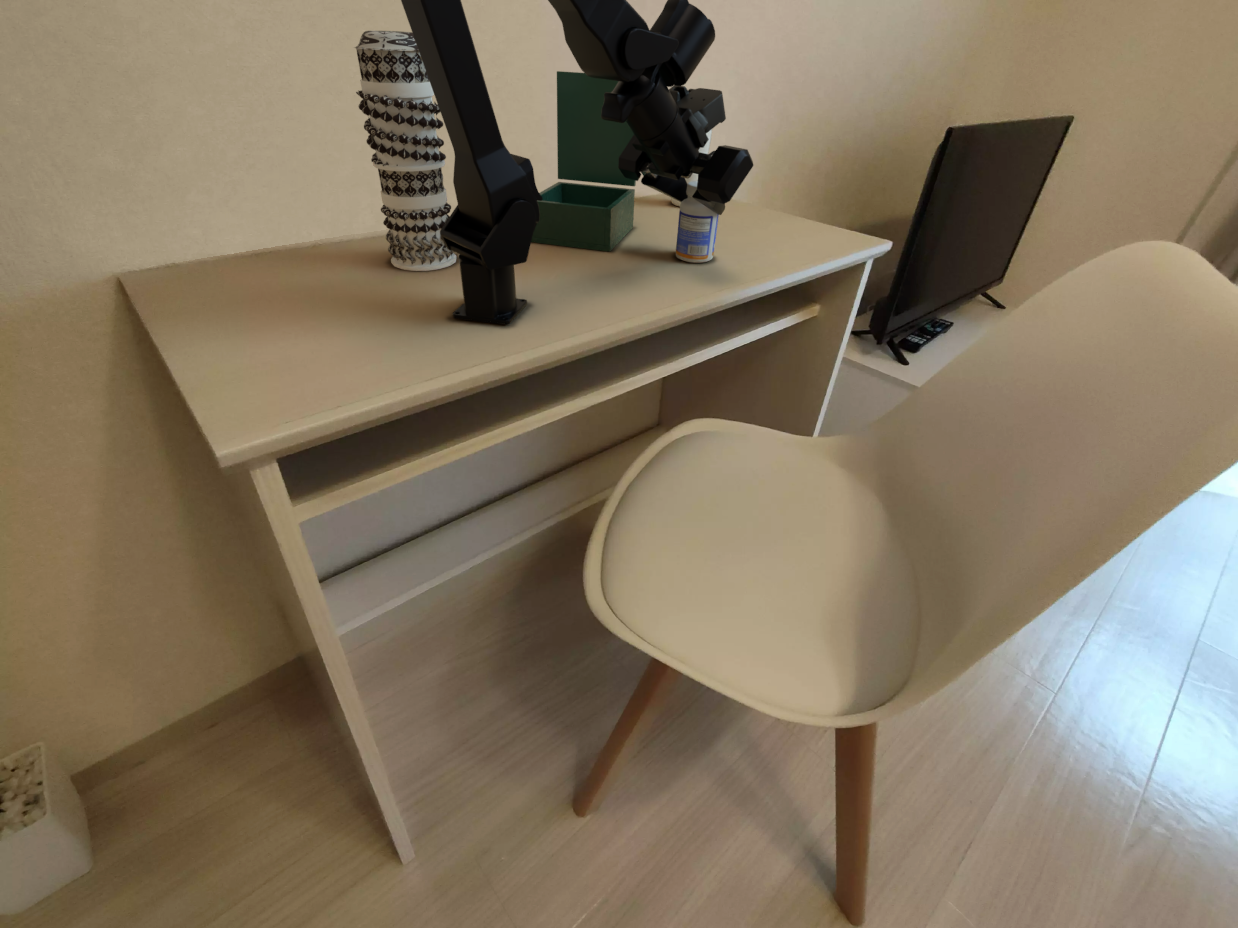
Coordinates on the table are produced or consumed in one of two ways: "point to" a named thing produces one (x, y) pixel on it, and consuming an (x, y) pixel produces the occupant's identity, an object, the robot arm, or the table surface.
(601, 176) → the green box lid
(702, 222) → the pill bottle
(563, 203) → the green open box
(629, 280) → the table surface
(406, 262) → the black and white cylinder
